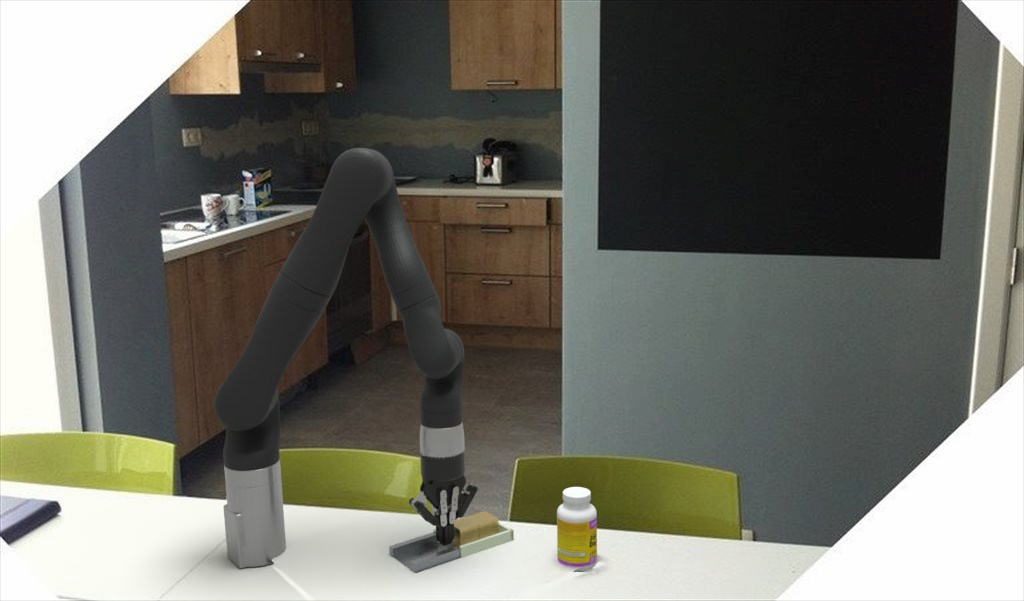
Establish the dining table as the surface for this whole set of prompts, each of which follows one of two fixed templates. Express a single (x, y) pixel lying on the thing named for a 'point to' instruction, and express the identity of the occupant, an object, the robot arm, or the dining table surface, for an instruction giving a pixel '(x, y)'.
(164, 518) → the dining table surface
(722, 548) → the dining table surface
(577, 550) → the supplement bottle
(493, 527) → the brass block
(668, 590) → the dining table surface
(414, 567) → the slot rail
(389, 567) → the dining table surface
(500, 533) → the tray
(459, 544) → the brass block
